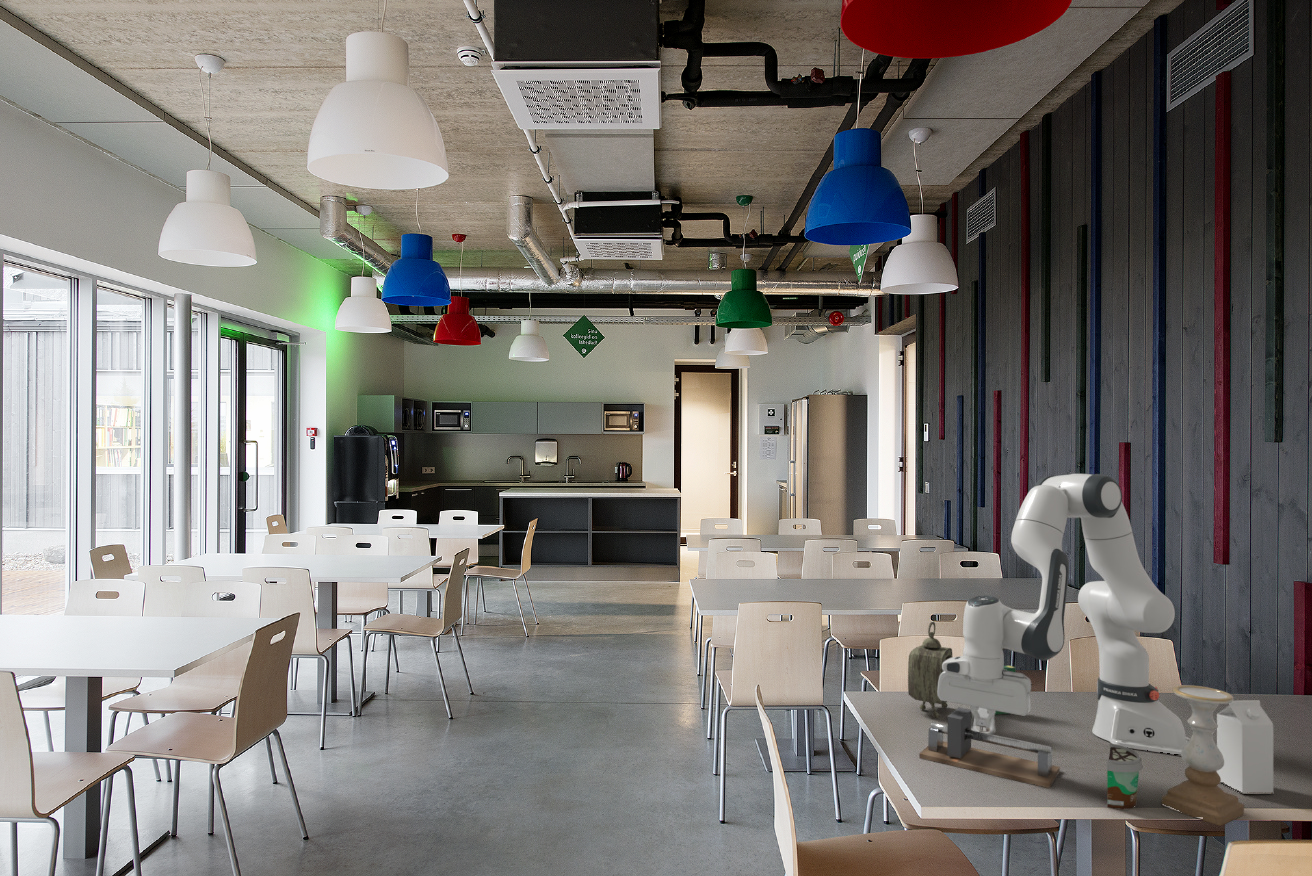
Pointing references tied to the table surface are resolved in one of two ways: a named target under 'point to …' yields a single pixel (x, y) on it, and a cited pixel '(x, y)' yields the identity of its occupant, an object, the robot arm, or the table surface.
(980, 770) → the board
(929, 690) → the tabletop clock
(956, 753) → the collar
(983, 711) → the beer glass
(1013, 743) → the linear slide rail
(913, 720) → the table surface
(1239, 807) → the candle holder
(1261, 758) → the milk carton
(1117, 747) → the food container
